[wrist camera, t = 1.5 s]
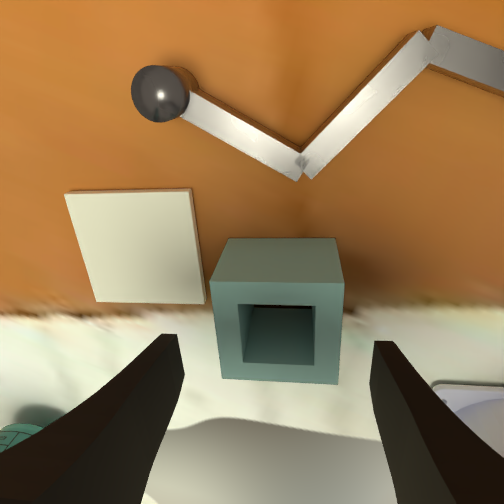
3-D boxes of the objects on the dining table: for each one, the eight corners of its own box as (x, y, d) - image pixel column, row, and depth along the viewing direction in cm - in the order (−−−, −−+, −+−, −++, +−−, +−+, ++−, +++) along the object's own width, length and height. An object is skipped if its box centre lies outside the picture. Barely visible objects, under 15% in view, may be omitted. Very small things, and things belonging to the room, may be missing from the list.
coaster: (206, 298, 19) (204, 304, 18) (101, 296, 20) (96, 301, 19) (191, 188, 16) (188, 191, 16) (70, 191, 17) (63, 194, 16)
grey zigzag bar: (559, 165, 14) (606, 182, 12) (170, 176, 16) (150, 192, 14) (607, 15, 12) (676, 1, 9) (149, 52, 14) (122, 47, 12)
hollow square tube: (330, 325, 18) (337, 384, 15) (236, 322, 19) (222, 378, 16) (335, 237, 16) (344, 283, 13) (228, 238, 17) (209, 281, 13)
